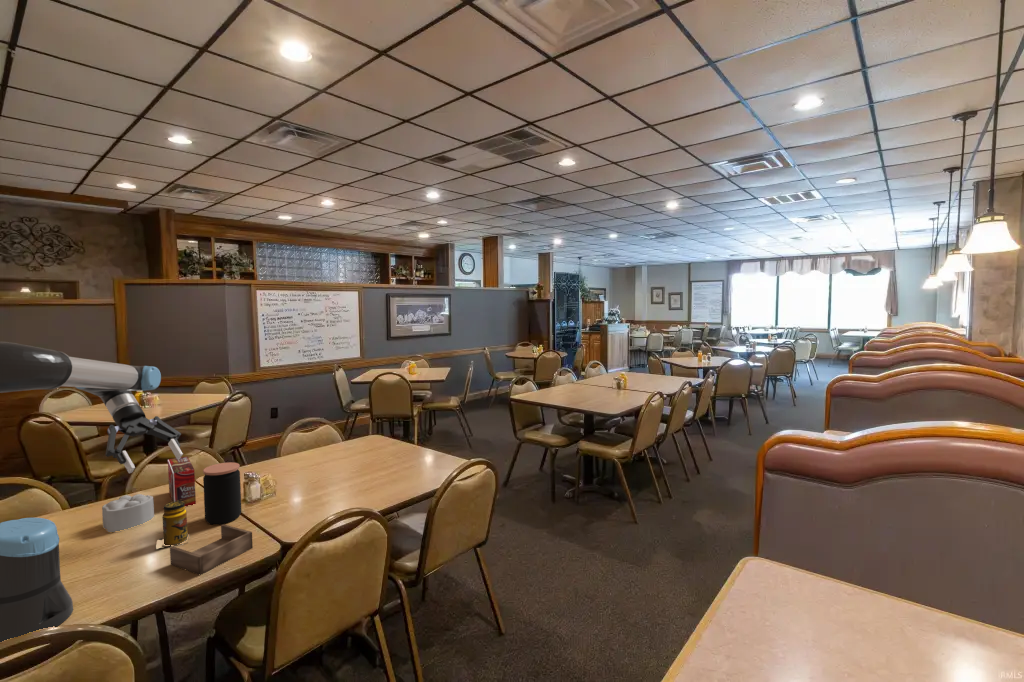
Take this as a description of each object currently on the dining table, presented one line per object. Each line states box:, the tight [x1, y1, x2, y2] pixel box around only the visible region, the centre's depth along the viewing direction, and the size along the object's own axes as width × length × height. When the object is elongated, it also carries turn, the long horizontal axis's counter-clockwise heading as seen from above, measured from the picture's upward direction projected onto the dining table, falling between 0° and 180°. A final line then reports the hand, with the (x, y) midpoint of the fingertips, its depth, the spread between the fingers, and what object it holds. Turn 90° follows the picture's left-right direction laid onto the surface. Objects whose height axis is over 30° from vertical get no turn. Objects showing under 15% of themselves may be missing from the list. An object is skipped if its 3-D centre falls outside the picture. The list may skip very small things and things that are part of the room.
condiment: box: [159, 501, 188, 546], centre depth 143 cm, size 7×8×12 cm
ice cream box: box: [167, 455, 197, 507], centre depth 176 cm, size 20×6×13 cm, turn 41°
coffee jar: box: [202, 461, 242, 525], centre depth 159 cm, size 11×11×18 cm
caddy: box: [169, 523, 254, 576], centre depth 135 cm, size 16×13×5 cm
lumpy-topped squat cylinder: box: [101, 493, 155, 533], centre depth 156 cm, size 10×13×9 cm
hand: (157, 463), depth 144 cm, fingers open, 13 cm apart
